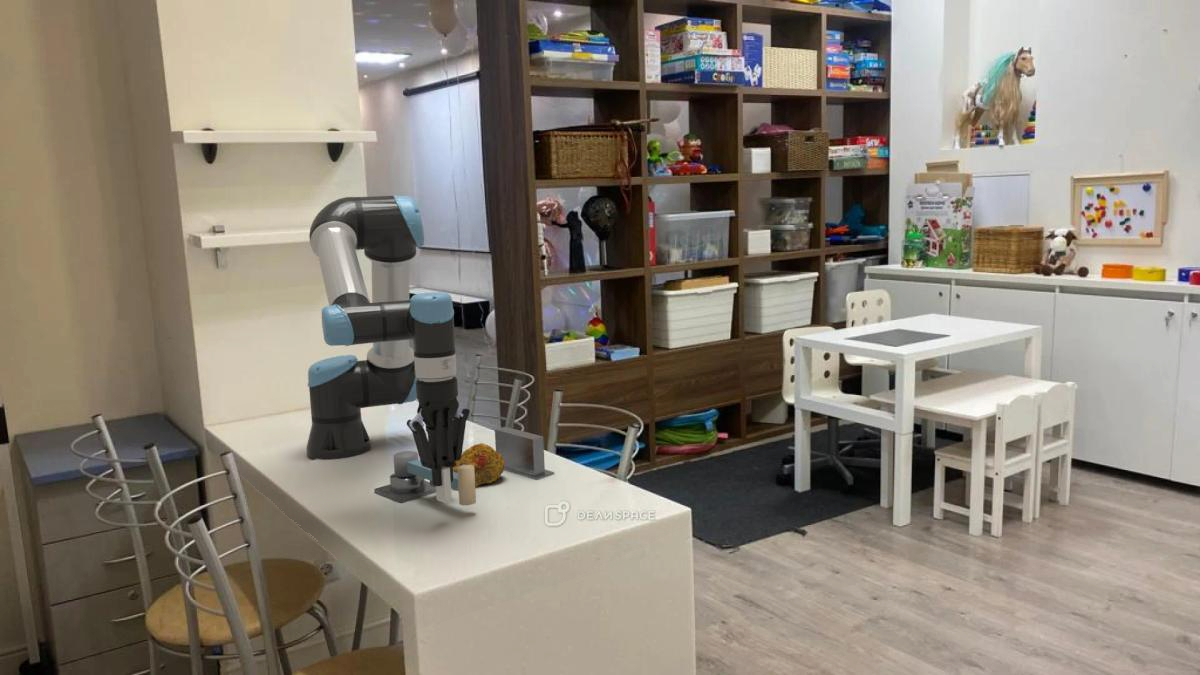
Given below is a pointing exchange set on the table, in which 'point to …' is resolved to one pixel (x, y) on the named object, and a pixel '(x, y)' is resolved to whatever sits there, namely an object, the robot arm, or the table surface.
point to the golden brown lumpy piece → (482, 463)
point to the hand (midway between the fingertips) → (444, 500)
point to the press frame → (512, 444)
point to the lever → (411, 466)
